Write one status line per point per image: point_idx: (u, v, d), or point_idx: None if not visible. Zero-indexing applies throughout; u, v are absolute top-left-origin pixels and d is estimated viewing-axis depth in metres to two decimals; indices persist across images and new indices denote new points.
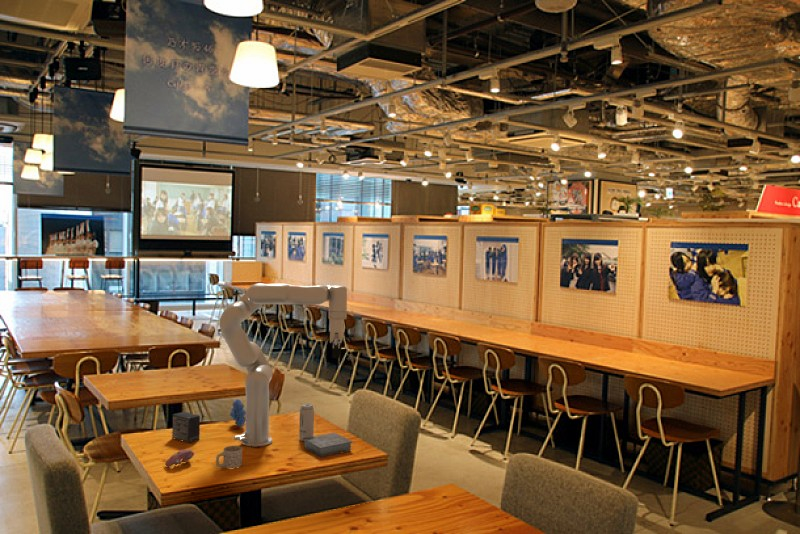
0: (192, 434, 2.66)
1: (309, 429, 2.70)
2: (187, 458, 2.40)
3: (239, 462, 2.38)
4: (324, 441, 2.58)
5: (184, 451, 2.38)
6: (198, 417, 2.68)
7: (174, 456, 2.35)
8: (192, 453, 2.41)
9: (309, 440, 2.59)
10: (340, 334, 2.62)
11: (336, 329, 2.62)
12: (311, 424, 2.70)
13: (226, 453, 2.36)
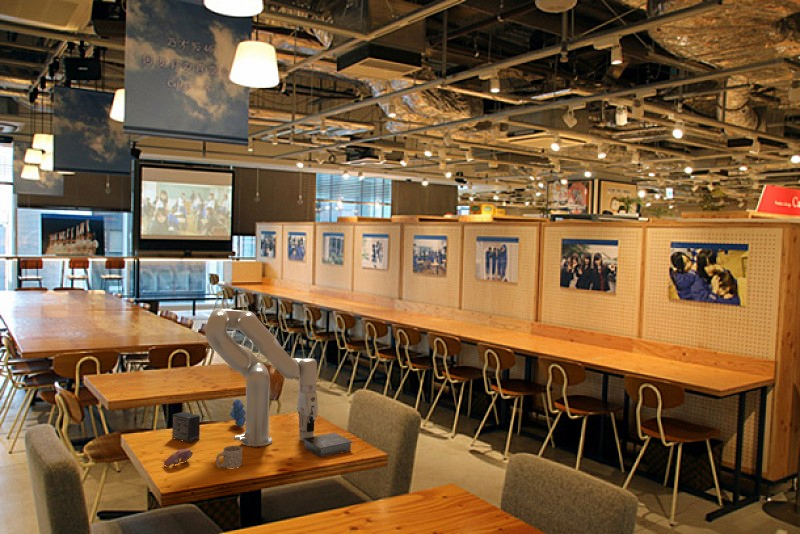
0: (192, 434, 2.66)
1: None
2: (186, 458, 2.40)
3: (239, 462, 2.38)
4: (324, 441, 2.58)
5: (183, 451, 2.38)
6: (198, 417, 2.68)
7: (173, 456, 2.35)
8: (191, 453, 2.41)
9: (309, 440, 2.59)
10: None
11: None
12: None
13: (226, 453, 2.36)
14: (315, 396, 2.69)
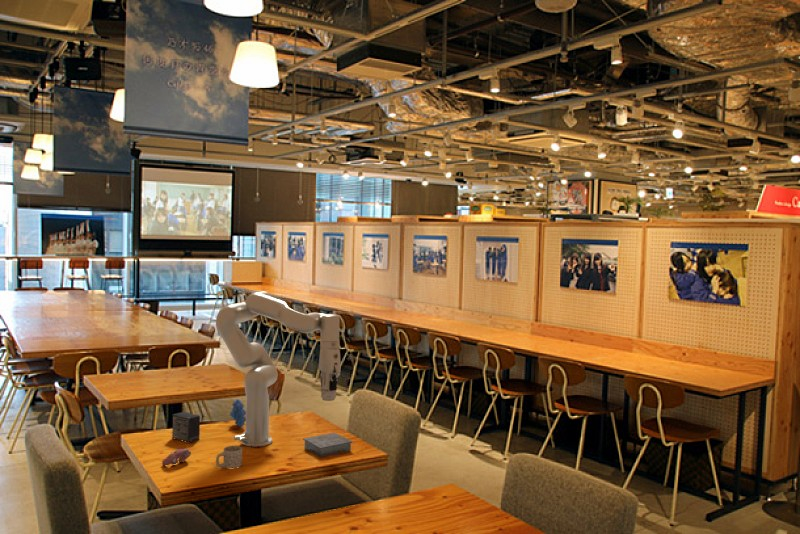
0: (192, 434, 2.66)
1: None
2: (184, 457, 2.40)
3: (239, 462, 2.38)
4: (324, 441, 2.58)
5: (181, 450, 2.38)
6: (198, 417, 2.68)
7: (171, 455, 2.35)
8: (189, 452, 2.41)
9: (309, 440, 2.59)
10: None
11: None
12: None
13: (226, 453, 2.36)
14: (338, 353, 2.56)
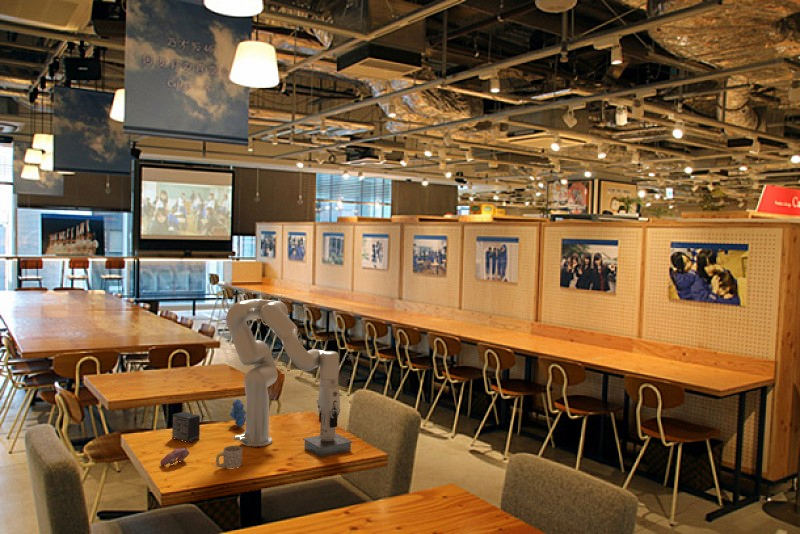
0: (192, 434, 2.66)
1: (331, 428, 2.58)
2: (182, 457, 2.41)
3: (239, 462, 2.38)
4: (324, 441, 2.58)
5: (179, 450, 2.39)
6: (198, 417, 2.68)
7: (169, 455, 2.36)
8: (187, 452, 2.42)
9: (309, 440, 2.59)
10: None
11: None
12: None
13: (226, 453, 2.36)
14: (337, 391, 2.56)
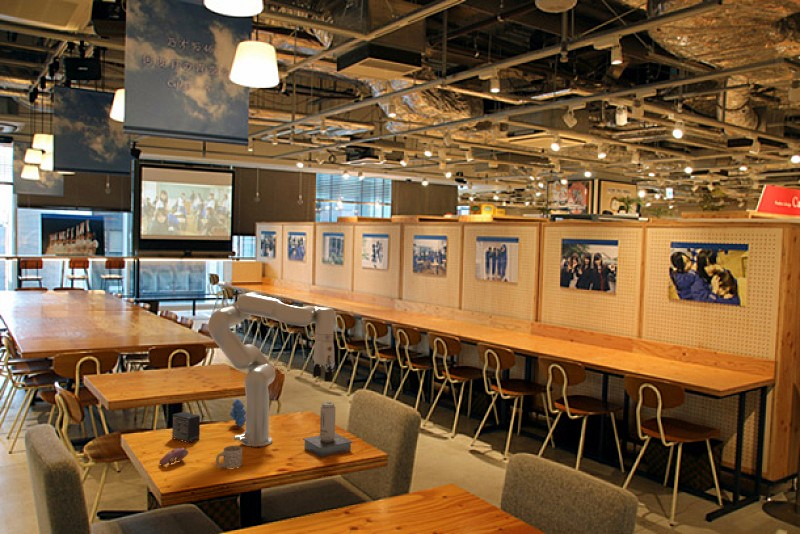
0: (192, 434, 2.66)
1: (331, 428, 2.58)
2: (181, 457, 2.41)
3: (239, 462, 2.38)
4: None
5: (178, 450, 2.39)
6: (198, 417, 2.68)
7: (168, 455, 2.36)
8: (186, 452, 2.42)
9: (309, 440, 2.59)
10: None
11: None
12: (333, 423, 2.58)
13: (226, 453, 2.36)
14: (332, 346, 2.60)
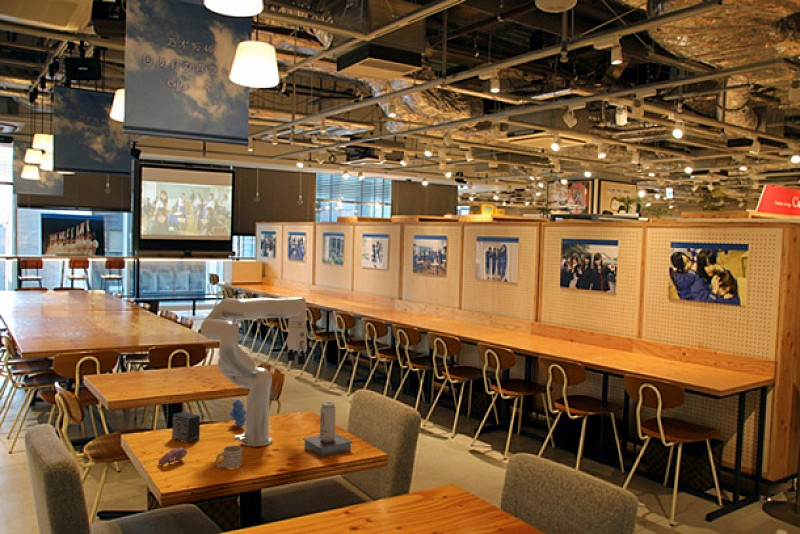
0: (192, 434, 2.66)
1: (331, 428, 2.58)
2: (180, 456, 2.41)
3: (239, 462, 2.38)
4: None
5: (177, 449, 2.39)
6: (198, 417, 2.68)
7: (167, 454, 2.36)
8: (185, 451, 2.42)
9: (309, 440, 2.59)
10: None
11: None
12: (333, 423, 2.58)
13: (226, 453, 2.36)
14: (304, 332, 2.82)
